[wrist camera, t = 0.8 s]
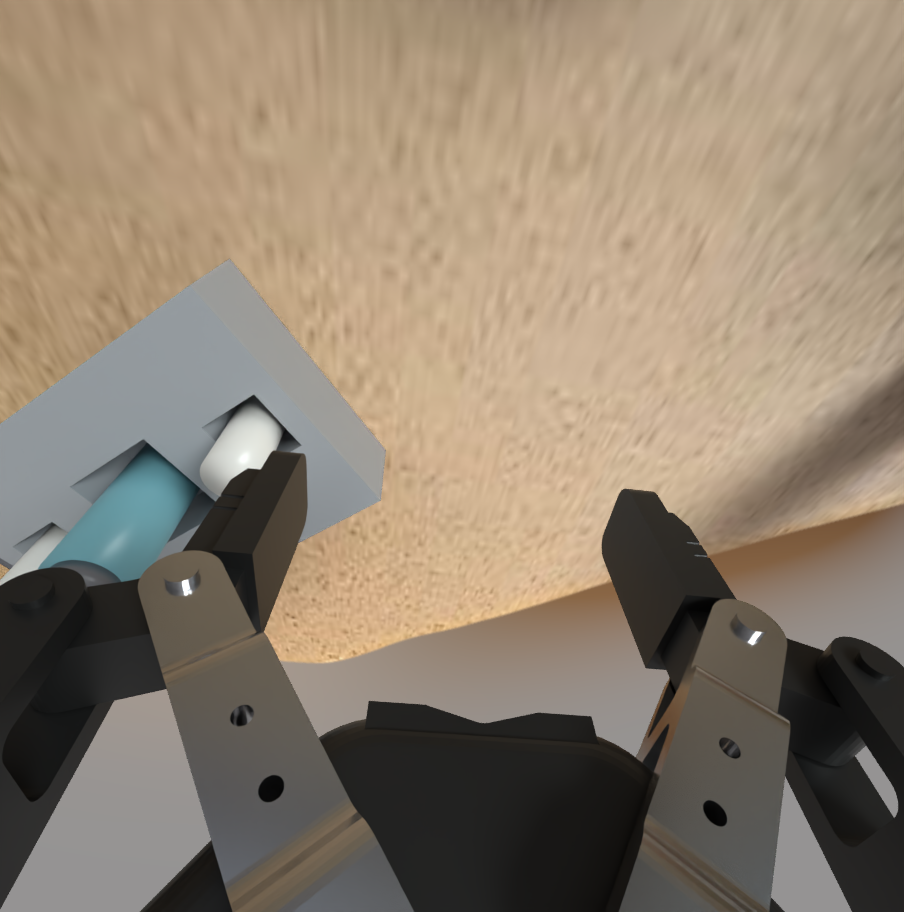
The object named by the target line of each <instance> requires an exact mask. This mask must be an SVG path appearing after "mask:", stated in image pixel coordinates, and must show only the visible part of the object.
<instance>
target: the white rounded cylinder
mask: <svg viewBox="0 0 904 912" xmlns="http://www.w3.org/2000/svg"><path fill="white" fill-rule="evenodd" d="M67 534H68V533H67V532H66V531H65V530H63V529H62V528H60V527H59V526H57V525H56V524H54V523H53V524H52V525H51V526H50V527H49V528H48V530H47V531H46V532H45V533H44V534H43V535H42V536H41V537H40V538H39V539H38V540H37V541H36V542H35V543H34V545H33V546H32V547H31V548H30V549H29V550H28V551H27V552H26V553H25V554H24V555H23V556H22V557H21V558H20V560H19V561H18V562H17V563H16V564H15V565H14V566H13V567H12V568H11V569H10V570H9V571H8V572H7V573H6V574H5V576H4V577H3V578H2V579H1V580H0V585H2V584H4V583H5V582H7V581H9V580H11V579H13V578H15V577H17V576H19V575H22V574H24V573H27V572H31V571H34V570H38V568H39V566H40V564H41V563H42V562H43V561H44V560H45V559H46V558H47V556H48V555H49V554H50V553H51V552H52V551H53V550H54V548H55V547H56V546H57V545H58V544H59V543H60V542H61V540H62V539H63V538H64V537H65V536H66V535H67Z"/></svg>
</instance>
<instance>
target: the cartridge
mask: <svg viewBox="0 0 904 912" xmlns="http://www.w3.org/2000/svg"><path fill="white" fill-rule="evenodd" d="M199 490H200V488H199V487H198V486H197V485H196V484H195V483H194V482H192V481H191V480H190V479H189V478H188V477H187V476H186V475H184V474H183V473H182V472H181V471H180V470H179V469H177V468H176V467H175V466H174V465H173V464H172V463H171V462H169V461H168V460H167V459H166V458H165V457H164V456H162V455H161V454H160V453H159V452H158V451H157V450H156V449H154V448H153V447H152V446H151V445H150V444H149V443H146V444H145V446H144V447H143V448H142V449H141V450H140V451H139V452H138V454H137V455H136V456H135V457H134V458H133V459H132V460H131V462H130V463H129V464H128V465H127V466H126V467H125V468H124V470H123V471H122V472H121V473H120V474H119V475H118V476H117V478H116V479H115V480H114V481H113V482H112V483H111V484H110V486H109V487H108V488H107V489H106V490H105V491H104V492H103V494H102V495H101V496H100V497H99V498H98V499H97V500H96V502H95V503H94V504H93V505H92V506H91V507H90V508H89V510H88V511H87V512H86V513H85V514H84V515H83V516H82V518H81V519H80V520H79V521H78V522H77V523H76V524H75V526H74V527H73V528H72V529H71V530H70V531H69V532H68V534H67V535H66V536H65V537H64V538H63V539H62V540H61V542H60V543H59V544H58V545H57V546H56V547H55V548H54V550H53V551H52V552H51V553H50V554H49V555H48V556H47V558H46V559H45V560H44V561H43V562H42V563H41V564H40V566H39V568H38V569H43V568H51V567H61V568H68V569H72V570H74V571H77V572H78V573H79V574H81V575H82V577H83V578H84V581H85V583H86V586H87V587H89V586H96V585H103V584H110V583H117V582H123V581H130V580H135V579H139V578H140V577H141V576H142V574H143V573H144V571H145V570H146V569H147V568H148V567H150V566H151V565H152V564H153V563H155V562H156V560H157V558H158V557H159V555H160V553H161V552H162V550H163V548H164V547H165V545H166V544H167V542H168V540H169V539H170V537H171V535H172V534H173V532H174V531H175V529H176V527H177V526H178V524H179V522H180V521H181V519H182V517H183V516H184V514H185V513H186V511H187V509H188V508H189V506H190V504H191V503H192V501H193V499H194V498H195V496H196V495H197V493H198V491H199Z"/></svg>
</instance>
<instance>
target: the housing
mask: <svg viewBox="0 0 904 912" xmlns="http://www.w3.org/2000/svg"><path fill="white" fill-rule="evenodd" d="M252 395H255V396H256V397H257V398H258V399H259V400H260V401H261V402H262V403H263V404H264V406H265V407H266V408H267V409H268V410H269V411H270V412H271V413H272V414H273V415H274V416H275V417H276V418H277V419H278V421H279V422H280V423H281V424H282V425H283V426H284V427H285V428H286V429H285V431H284V433H283V436H282V438H281V440H280V442H279V444H278V447H277V449H276V451H284V452H294V453H303V454H305V456H306V464H307V497H308V509H307V517H306V522H305V526H304V529H303V532H302V535H301V537H300V540H299V542H301V541H303V540H305V539H307V538H309V537H311V536H313V535H315V534H317V533H319V532H321V531H323V530H325V529H326V528H328V527H330V526H332V525H334V524H336V523H338V522H340V521H342V520H344V519H346V518H348V517H350V516H352V515H353V514H355V513H357V512H359V511H361V510H363V509H365V508H367V507H369V506H371V505H373V504H375V503H377V502H378V501H380V500H381V493H382V483H383V473H384V463H385V453H386V450H385V449H384V447H383V446H382V445H381V444H380V443H379V441H378V440H377V439H376V438H375V436H374V435H373V434H372V433H371V432H370V430H369V429H368V428H367V427H366V425H365V424H364V423H363V422H362V420H361V419H360V418H359V417H358V416H357V414H356V413H355V412H354V411H353V409H352V408H351V407H350V406H349V405H348V403H347V402H346V401H345V400H344V398H343V397H342V396H341V395H340V394H339V392H338V391H337V390H336V389H335V387H334V386H333V385H332V384H331V382H330V381H329V380H328V379H327V378H326V376H325V375H324V374H323V373H322V371H321V370H320V369H319V368H318V367H317V365H316V364H315V363H314V362H313V360H312V359H311V358H310V357H309V355H308V354H307V353H306V352H305V351H304V349H303V348H302V347H301V346H300V344H299V343H298V342H297V341H296V340H295V338H294V337H293V336H292V335H291V333H290V332H289V331H288V330H287V329H286V327H285V326H284V325H283V324H282V322H281V321H280V320H279V319H278V317H277V316H276V315H275V314H274V313H273V311H272V310H271V309H270V308H269V306H268V305H267V304H266V303H265V302H264V300H263V299H262V298H261V297H260V295H259V294H258V293H257V292H256V290H255V289H254V288H253V287H252V286H251V284H250V283H249V282H248V281H247V279H246V278H245V277H244V276H243V275H242V273H241V272H240V271H239V270H238V268H237V267H236V266H235V265H234V264H233V262H232V261H231V260H230V259H228V260H227V261H225V262H224V263H222V264H221V265H219V266H218V267H216V268H215V269H213V270H212V271H210V272H209V273H207V274H206V275H204V276H203V277H201V278H200V279H198V280H197V281H195V282H194V283H192V284H191V285H189V286H188V287H187V288H185V289H184V290H183V291H181V292H180V293H178V294H177V295H176V296H174V297H173V298H172V299H170V300H169V301H167V302H166V303H165V304H163V305H162V306H161V307H159V308H158V309H157V310H155V311H154V312H152V313H151V314H150V315H148V316H147V317H146V318H144V319H143V320H142V321H140V322H139V323H137V324H136V325H135V326H133V327H132V328H131V329H129V330H128V331H127V332H125V333H124V334H122V335H121V336H120V337H118V338H117V339H116V340H114V341H113V342H112V343H110V344H109V345H107V346H106V347H105V348H103V349H102V350H101V351H99V352H98V353H97V354H95V355H94V356H92V357H91V358H90V359H88V360H87V361H86V362H84V363H83V364H82V365H80V366H79V367H77V368H76V369H75V370H73V371H72V372H71V373H69V374H68V375H67V376H65V377H64V378H62V379H61V380H60V381H58V382H57V383H56V384H54V385H53V386H51V387H50V388H49V389H47V390H46V391H45V392H43V393H42V394H41V395H39V396H38V397H36V398H35V399H34V400H32V401H31V402H30V403H28V404H27V405H26V406H24V407H23V408H21V409H20V410H19V411H17V412H16V413H15V414H13V415H12V416H11V417H9V418H8V419H6V420H5V421H4V422H2V423H1V424H0V558H1V559H3V560H4V561H6V562H8V563H9V564H11V565H13V566H14V565H15V564H16V563H17V562H18V561H19V560H20V558H21V557H22V556H23V555H24V554H25V553H26V552H27V551H28V550H29V549H30V548H31V547H32V546H33V545H34V543H35V542H36V541H37V540H38V539H39V538H40V537H41V536H42V535H43V534H44V533H45V532H46V531H47V530H48V528H49V527H50V526H51V525H52V524H53V523H54V524H56V525H57V526H59V527H60V528H62V529H63V530H65V531H66V532H67V533H68V532H69V531H70V530H71V529H72V528H73V527H74V526H75V524H76V523H77V522H78V521H79V520H80V519H81V518H82V516H83V515H84V514H85V513H86V512H87V511H88V510H89V508H90V507H91V506H92V505H93V504H94V503H95V502H96V500H97V499H98V498H99V497H100V496H101V495H102V494H103V492H104V491H105V490H106V489H107V488H108V487H109V486H110V484H111V483H112V482H113V481H114V480H115V479H116V478H117V476H118V475H119V474H120V473H121V472H122V471H123V470H124V468H125V467H126V466H127V465H128V464H129V463H130V462H131V460H132V459H133V458H134V457H135V456H136V455H137V454H138V452H139V451H140V450H141V449H142V448H143V447H144V446H145V444H146V443H149V444H150V445H151V446H152V447H153V448H154V449H156V450H157V451H158V452H159V453H160V454H161V455H162V456H164V457H165V458H166V459H167V460H168V461H169V462H171V463H172V464H173V465H174V466H175V467H176V468H177V469H179V470H180V471H181V472H182V473H183V474H184V475H186V476H187V477H188V478H189V479H190V480H191V481H192V482H194V483H195V484H196V485H197V486H198V487H199V488H200V490H199V491H198V493H197V495H196V496H195V498H194V499H193V501H192V503H191V504H190V506H189V508H188V509H187V511H186V513H185V514H184V516H183V517H182V519H181V521H180V522H179V524H178V526H177V527H176V529H175V531H174V532H173V534H172V535H171V537H170V539H169V540H168V542H167V544H166V545H165V547H164V548H163V550H162V552H161V553H160V555H159V557H158V558H157V560H156V561H158V560H160V559H162V558H164V557H166V556H168V555H171V554H174V553H178V552H182V551H183V549H184V548H185V546H186V545H187V543H188V542H189V540H190V539H191V538H192V536H193V535H194V533H195V532H196V530H197V529H198V527H199V526H200V524H201V523H202V521H203V520H204V518H205V517H206V515H207V514H208V512H209V511H210V509H213V505H214V503H215V502H216V501H217V499H218V498H219V497H221V496H218V495H216V494H215V493H213V492H212V491H210V490H209V489H208V488H207V487H206V486H205V485H204V483H203V482H202V479H201V477H200V466H201V464H202V462H203V461H204V459H205V458H206V456H207V455H208V453H209V452H210V450H211V449H212V447H213V446H214V444H215V442H216V441H217V439H218V438H219V436H220V435H221V433H222V432H223V430H224V429H225V427H226V426H227V424H228V423H229V421H230V420H231V418H232V417H233V415H234V413H235V412H236V410H237V409H238V407H239V406H240V404H241V403H242V402H243V401H244V400H246V399H247V398H249V397H251V396H252ZM299 542H298V543H299Z"/></svg>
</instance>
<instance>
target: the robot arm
mask: <svg viewBox="0 0 904 912" xmlns="http://www.w3.org/2000/svg"><path fill="white" fill-rule="evenodd" d="M307 509H308V497H307V464H306V456H305V454H303V453H294V452H284V451H275V450H273V451H272V452H271V453H270V455H269V456H268V458H267V460H266V461H265V463H264V465H263V466H262V468H261V469H252V468H247V469H246V470H244V471H243V472H241V473H240V474H238V475H237V476H235V477H234V478H232V479H231V480H230V481H229V483H228V484H227V486H226V487H225V489H224V490H223V492H222V493H221V497H219V498H218V499H217V501H216V502H215V503H214V505H213V509H210V511H209V512H208V514H207V515H206V517H205V518H204V520H203V521H202V523H201V524H200V526H199V527H198V529H197V530H196V532H195V533H194V535H193V536H192V538H191V539H190V540H189V542H188V543H187V545H186V546H185V548H184V549H183V551H182V552H178V553H174V554H171V555H168V556H166V557H164V558H162V559H160V560H158V561H156V562H155V563H153V564H152V565H151V566H150V567H148V568H147V569H146V570H145V571H144V573H143V574H142V576H141V577H140V578H139V579H135V580H130V581H123V582H117V583H110V584H103V585H96V586H89V587H87V586H86V583H85V581H84V578H83V577H82V575H81V574H79V573H78V572H77V571H74V570H72V569H68V568H61V567H51V568H43V569H38V570H34V571H31V572H27V573H24V574H22V575H19V576H17V577H15V578H13V579H11V580H9V581H7V582H5V583H4V584H2V585H0V909H1V907H2V905H3V903H4V901H5V899H6V898H7V895H8V894H9V892H10V890H11V888H12V887H13V885H14V883H15V881H16V879H17V877H18V876H19V874H20V872H21V870H22V868H23V867H24V865H25V863H26V861H27V859H28V857H29V855H30V854H31V852H32V850H33V848H34V846H35V844H36V843H37V841H38V839H39V837H40V835H41V834H42V832H43V830H44V828H45V826H46V824H47V823H48V820H49V819H50V817H51V815H52V813H53V811H54V810H55V808H56V806H57V804H58V802H59V801H60V799H61V797H62V795H63V793H64V791H65V789H66V788H67V786H68V784H69V782H70V780H71V779H72V777H73V775H74V773H75V771H76V769H77V768H78V766H79V764H80V762H81V760H82V758H83V757H84V755H85V753H86V751H87V749H88V748H89V746H90V744H91V742H92V740H93V738H94V736H95V735H96V733H97V731H98V729H99V727H100V725H101V724H102V722H103V720H104V718H105V716H106V714H107V713H108V711H109V709H110V707H111V705H112V703H113V702H114V700H118V699H123V698H128V697H132V696H136V695H141V694H145V693H150V692H155V691H159V690H164V689H167V691H168V695H169V698H170V701H171V705H172V708H173V712H174V715H175V718H176V721H177V725H178V729H179V732H180V735H181V739H182V742H183V746H184V749H185V752H186V756H187V759H188V763H189V766H190V769H191V773H192V776H193V779H194V783H195V786H196V790H197V793H198V797H199V799H200V803H201V806H202V810H203V813H204V817H205V820H206V823H207V827H208V831H209V834H210V837H211V841H210V842H209V843H208V844H207V845H206V846H205V847H204V848H203V849H202V850H201V851H200V852H199V853H198V854H197V855H196V856H195V857H194V858H193V859H192V860H191V861H190V862H189V863H188V864H187V865H186V866H185V867H184V868H183V869H182V870H181V871H180V872H179V873H178V874H177V875H176V876H175V877H174V878H173V879H172V880H171V881H170V882H169V883H168V884H167V885H166V886H165V887H164V888H163V889H162V890H161V891H160V892H159V893H158V894H157V895H156V896H155V897H154V898H153V899H152V900H151V901H150V902H149V903H148V904H147V905H146V906H145V907H144V908H143V909H142V910H141V911H140V912H784V911H783V910H782V909H781V907H780V906H779V905H778V904H777V903H776V902H775V901H774V900H773V899H772V898H771V891H772V883H773V874H774V866H775V857H776V849H777V839H778V832H779V823H780V814H781V806H782V797H783V788H784V780H785V777H786V779H787V780H788V783H789V785H790V787H791V789H792V791H793V792H794V795H795V797H796V799H797V801H798V803H799V805H800V807H801V809H802V811H803V813H804V815H805V817H806V819H807V821H808V823H809V825H810V827H811V829H812V831H813V833H814V835H815V837H816V839H817V841H818V843H819V845H820V847H821V849H822V851H823V854H824V856H825V858H826V860H827V862H828V864H829V865H830V868H831V870H832V872H833V874H834V876H835V878H836V880H837V882H838V884H839V886H840V888H841V890H842V892H843V894H844V896H845V898H846V900H847V902H848V904H849V906H850V908H851V910H852V912H904V667H903V666H902V665H901V664H900V663H899V662H897V661H896V660H895V659H894V658H893V657H891V656H890V655H888V654H887V653H886V652H884V651H883V650H881V649H879V648H878V647H876V646H873V645H872V644H870V643H867V642H865V641H863V640H859V639H856V638H852V637H839V638H836V639H834V640H833V641H832V643H831V644H830V645H829V646H828V647H827V648H826V650H825V651H823V650H820V649H816V648H814V647H811V646H808V645H805V644H802V643H799V642H796V641H793V640H790V639H787V638H786V636H785V634H784V632H783V631H782V629H781V628H780V626H779V625H778V624H777V623H776V622H775V621H774V620H773V619H772V618H771V617H770V616H768V615H767V614H766V613H764V612H763V611H762V610H760V609H758V608H756V607H755V606H753V605H750V604H748V603H746V602H743V601H739V600H737V599H736V598H735V596H734V595H733V593H732V592H731V590H730V589H729V587H728V585H727V584H726V582H725V581H724V579H723V578H722V576H721V575H720V573H719V572H718V570H717V569H716V567H715V566H714V564H713V562H712V561H711V559H710V558H707V553H706V552H705V550H704V549H703V547H702V546H701V545H699V541H698V540H697V538H696V536H695V535H694V533H693V532H692V530H691V529H690V527H689V526H688V525H686V524H685V523H684V522H683V521H682V520H680V519H679V518H678V517H677V516H676V515H675V514H673V513H668V511H667V510H666V508H665V507H664V505H663V503H662V502H661V500H660V498H659V497H658V495H657V494H656V493H655V492H651V491H642V490H633V489H623V490H622V491H621V492H620V494H619V496H618V498H617V501H616V503H615V506H614V508H613V511H612V514H611V516H610V519H609V521H608V524H607V526H606V529H605V532H604V535H603V539H602V555H603V559H604V562H605V564H606V567H607V569H608V572H609V574H610V577H611V580H612V582H613V585H614V587H615V590H616V592H617V595H618V598H619V600H620V603H621V605H622V608H623V611H624V613H625V616H626V618H627V621H628V624H629V626H630V629H631V631H632V634H633V636H634V639H635V642H636V644H637V647H638V649H639V652H640V655H641V657H642V660H643V662H644V665H645V668H649V669H663V670H667V672H668V674H669V677H670V678H669V680H668V681H667V683H666V685H665V687H664V689H663V691H662V694H661V696H660V699H659V701H658V704H657V706H656V709H655V712H654V714H653V716H652V719H651V722H650V724H649V726H648V729H647V732H646V734H645V737H644V739H643V742H642V744H641V747H640V749H639V751H638V754H637V755H636V757H634V756H633V755H632V754H630V753H629V752H627V751H626V750H624V749H622V748H621V747H619V746H617V745H615V744H614V743H611V742H609V741H607V740H605V739H603V738H600V737H597V736H596V733H595V729H594V725H593V721H592V718H591V717H590V716H576V715H562V714H548V713H535V714H530V715H526V716H520V717H515V718H511V719H506V720H501V721H496V722H491V723H478V722H475V721H472V720H469V719H466V718H463V717H460V716H457V715H454V714H451V713H448V712H445V711H442V710H439V709H436V708H433V707H430V706H427V705H420V704H405V703H391V702H376V701H369V704H368V711H367V717H366V719H364V720H360V721H355V722H351V723H349V724H346V725H343V726H340V727H338V728H336V729H333V730H331V731H329V732H327V733H325V734H324V735H322V736H321V737H319V738H318V736H317V734H316V732H315V730H314V728H313V726H312V724H311V722H310V720H309V718H308V716H307V714H306V712H305V710H304V708H303V706H302V704H301V702H300V700H299V698H298V696H297V694H296V692H295V690H294V688H293V686H292V684H291V682H290V680H289V678H288V677H287V675H286V672H285V670H284V669H283V667H282V665H281V663H280V661H279V659H278V657H277V655H276V653H275V651H274V649H273V647H272V645H271V643H270V641H269V639H268V637H267V636H266V634H265V633H264V630H265V627H266V624H267V622H268V619H269V617H270V614H271V612H272V609H273V606H274V604H275V601H276V599H277V596H278V594H279V591H280V588H281V586H282V583H283V581H284V578H285V576H286V573H287V570H288V568H289V565H290V563H291V560H292V558H293V555H294V553H295V550H296V547H297V545H298V542H299V540H300V537H301V535H302V532H303V529H304V526H305V522H306V517H307ZM865 746H867V747H868V749H869V750H870V752H871V753H872V755H873V756H874V758H875V759H876V761H877V763H878V764H879V766H880V767H881V768H882V770H883V771H884V773H885V775H886V776H887V777H888V779H889V781H890V782H891V784H892V786H893V787H894V790H895V792H896V795H897V799H898V813H897V815H896V817H895V818H894V817H893V816H892V814H891V813H890V811H889V810H888V808H887V806H886V805H885V803H884V801H883V800H882V798H881V797H880V795H879V793H878V792H877V790H876V789H875V787H874V785H873V784H872V782H871V781H870V779H869V778H868V776H867V774H866V773H865V771H864V770H863V768H862V766H861V765H860V763H859V762H858V760H857V759H856V757H855V755H856V754H857V753H858V752H860V751H861V749H863V748H864V747H865Z"/></svg>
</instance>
